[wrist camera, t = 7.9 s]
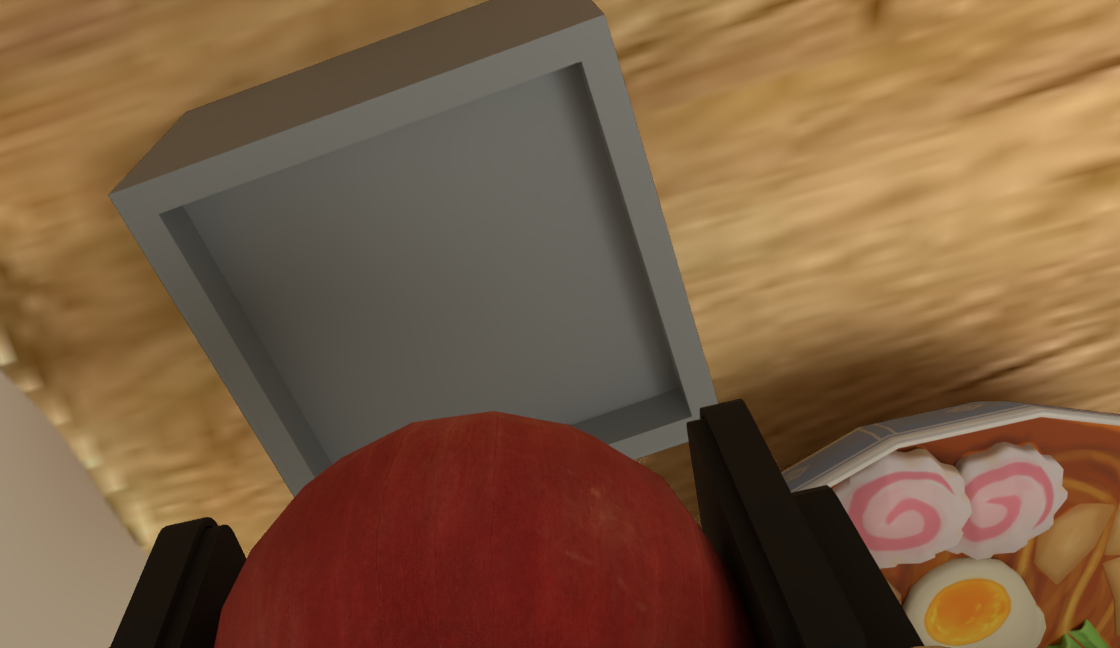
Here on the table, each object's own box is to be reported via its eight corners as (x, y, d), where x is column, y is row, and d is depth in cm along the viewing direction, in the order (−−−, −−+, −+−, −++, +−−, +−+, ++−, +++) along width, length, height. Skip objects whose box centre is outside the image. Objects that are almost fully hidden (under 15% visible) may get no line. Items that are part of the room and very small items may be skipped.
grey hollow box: (668, 309, 32) (725, 428, 26) (355, 417, 33) (333, 560, 27) (564, -29, 27) (604, 14, 20) (188, 109, 27) (107, 194, 21)
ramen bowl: (1143, 190, 32) (1344, 291, 25) (1176, 610, 43) (1324, 764, 36) (495, 452, 34) (509, 614, 27) (683, 789, 45) (729, 969, 38)
